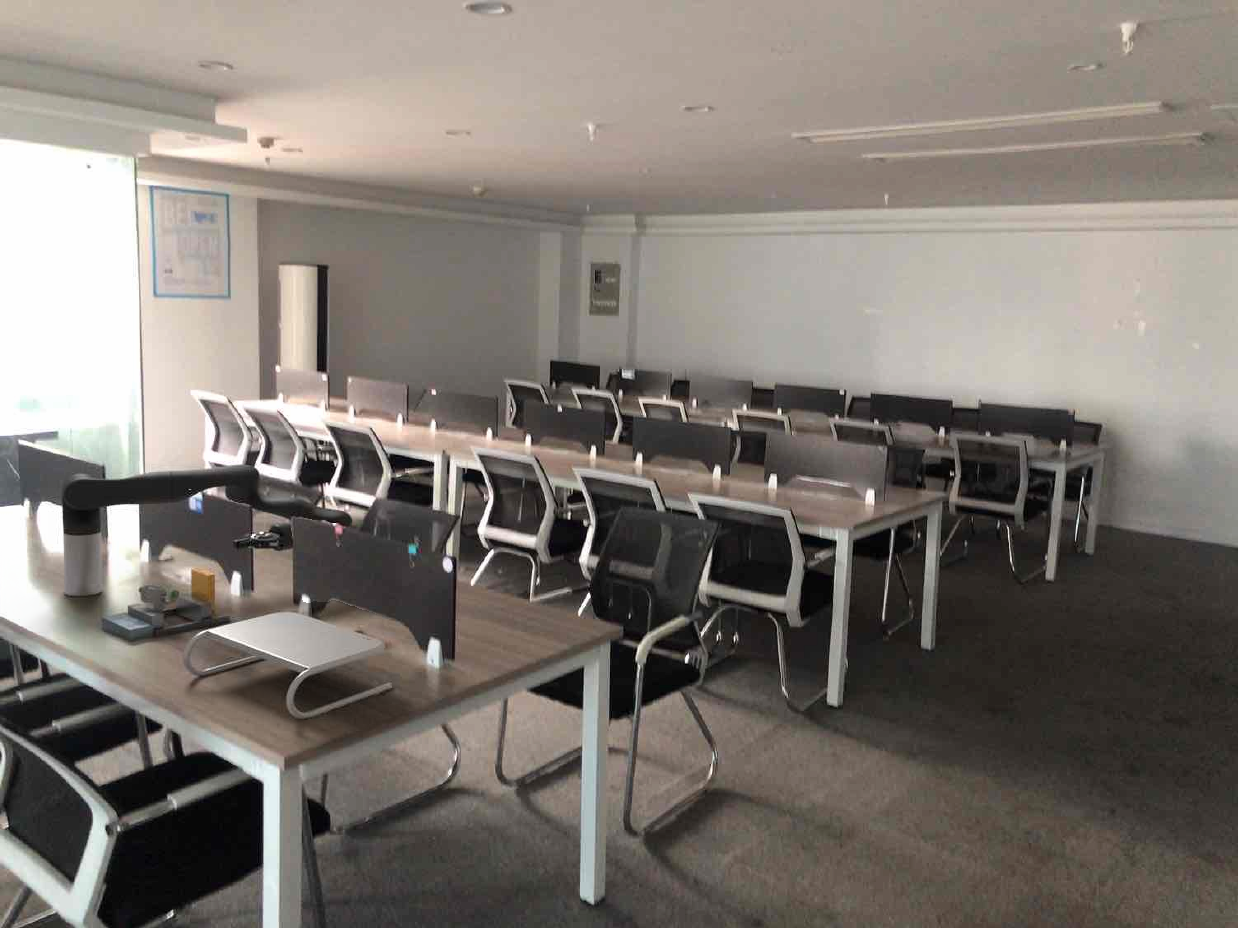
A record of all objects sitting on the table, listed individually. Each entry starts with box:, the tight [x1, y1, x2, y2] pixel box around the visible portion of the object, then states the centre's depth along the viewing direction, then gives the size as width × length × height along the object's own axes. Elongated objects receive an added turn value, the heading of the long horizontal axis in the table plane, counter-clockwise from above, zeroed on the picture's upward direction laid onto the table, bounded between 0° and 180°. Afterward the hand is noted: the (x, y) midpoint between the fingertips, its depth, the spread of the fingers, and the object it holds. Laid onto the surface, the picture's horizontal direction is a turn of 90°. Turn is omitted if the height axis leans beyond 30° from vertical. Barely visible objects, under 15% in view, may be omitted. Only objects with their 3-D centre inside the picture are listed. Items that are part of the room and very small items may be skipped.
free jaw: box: [176, 567, 216, 622], centre depth 261 cm, size 12×5×12 cm, turn 53°
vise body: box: [101, 603, 231, 643], centre depth 255 cm, size 16×26×5 cm, turn 143°
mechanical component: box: [138, 584, 180, 613], centre depth 253 cm, size 3×10×10 cm, turn 78°
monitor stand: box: [182, 611, 394, 720], centre depth 220 cm, size 37×28×11 cm
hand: (234, 544), depth 268 cm, fingers closed
